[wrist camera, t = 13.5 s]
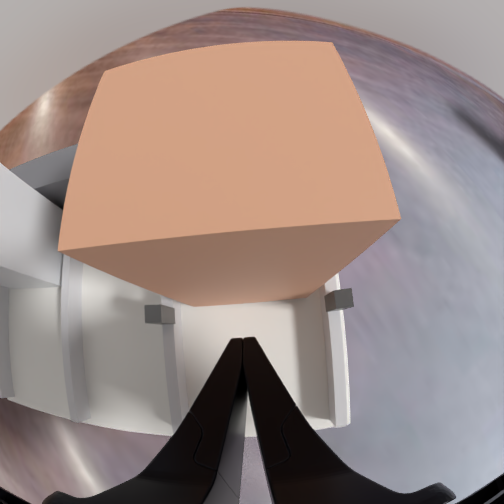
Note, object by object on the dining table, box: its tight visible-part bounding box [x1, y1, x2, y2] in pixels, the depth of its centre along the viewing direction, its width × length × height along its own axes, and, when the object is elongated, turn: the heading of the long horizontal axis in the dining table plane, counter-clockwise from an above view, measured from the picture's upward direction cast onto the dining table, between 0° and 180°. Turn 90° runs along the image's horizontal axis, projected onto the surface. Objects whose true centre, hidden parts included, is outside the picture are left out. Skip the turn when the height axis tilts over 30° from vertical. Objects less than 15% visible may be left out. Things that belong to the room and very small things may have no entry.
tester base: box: [0, 144, 354, 437], centre depth 14 cm, size 17×25×5 cm
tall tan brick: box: [58, 41, 401, 307], centre depth 10 cm, size 5×6×11 cm
